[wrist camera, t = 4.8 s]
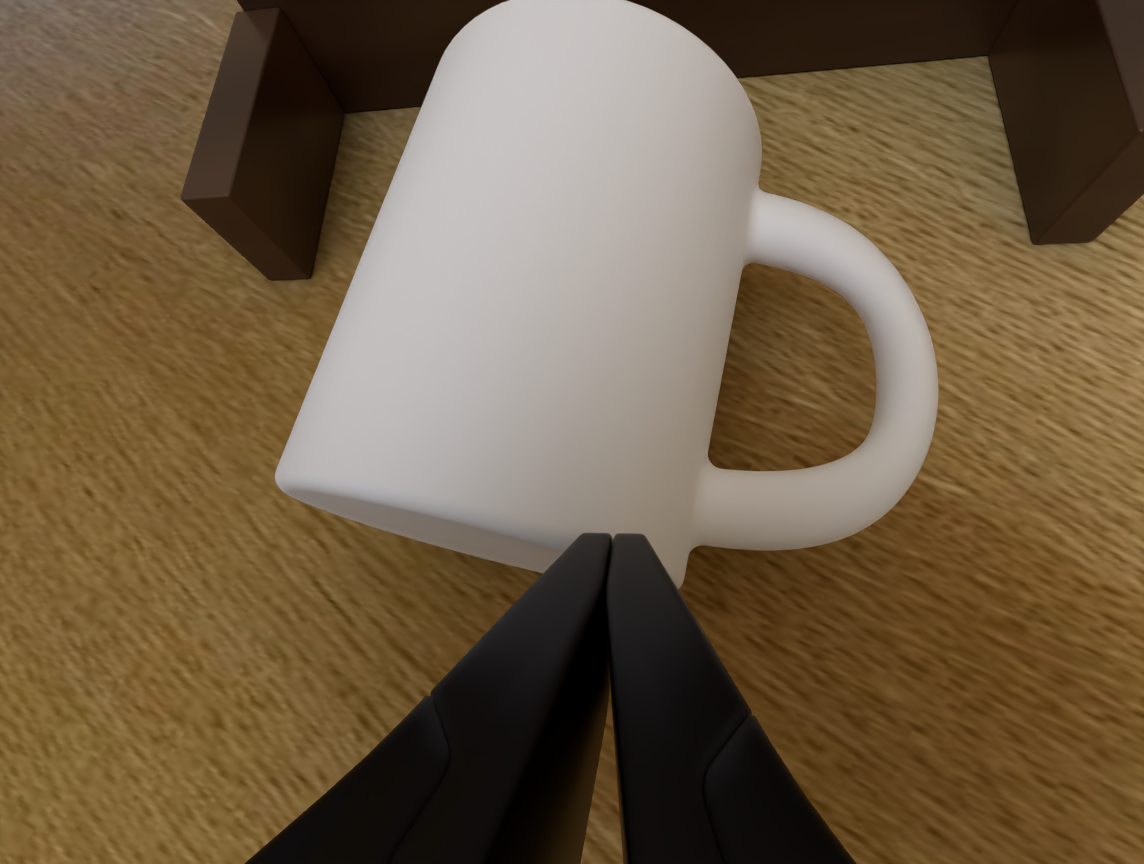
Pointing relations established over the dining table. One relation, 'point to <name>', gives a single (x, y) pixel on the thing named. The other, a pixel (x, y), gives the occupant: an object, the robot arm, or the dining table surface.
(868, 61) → the shelf
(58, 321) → the dining table surface
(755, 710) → the dining table surface
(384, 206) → the mug
